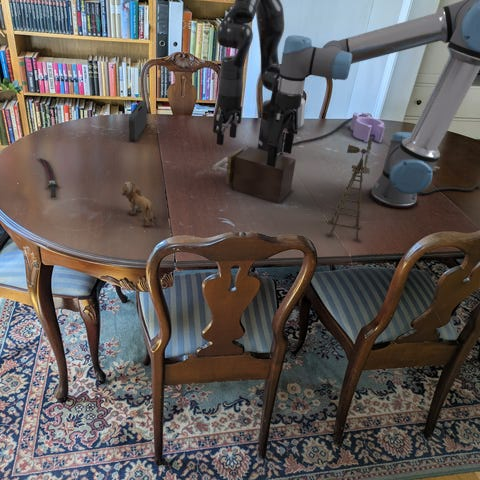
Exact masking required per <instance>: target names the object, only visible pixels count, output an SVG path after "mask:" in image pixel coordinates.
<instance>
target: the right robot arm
mask: <svg viewBox="0 0 480 480" xmlns="http://www.w3.org/2000/svg"><path fill="white" fill-rule="evenodd" d="M312 42H313V41H312V38H310V37H307V36H304V35H295V34H294V35H288V36H286V38H285V40H284V43H283V49H282V52H281V53H282V56H281V62H280V63H281V64H280V66H281V70H280V77H279V78H278V81H279V84H278V90H279V91H278V92H277V96H276V104H277V105H278V106H279V107H280V111H279V113H275V116H274V121H273V124H272V128H271V131H270V134H269V137H268V141H267V143H266V145H267V146H269V151H268V158H267V165H268V166H271V167H275V165H276V159H277V153H278V147H277V146H278V143H279V141H280V138H281V135H282V133H283V130H284V131H285V129H286V132H285V137H284V140H285V141H284V143H283V150H282V153H285V154H289V155H291V154H292V150H293V146H294V145H293V143H294V138H295V135H298V132H299V131H298V130H299V129H298V108H299V107H300V105H301V100H302V98H303V95H301V94H302V93H303V94H304V89H305V82H306V75H309V76H316V77H321V78H326V79H330V80H331V79H332V80H335V81H337V80H341V81H346V80H347V79H348V77H349V75H350V70H351V66H352V65H353V64H357V63H360V62H364V61H367V60H373V59H376V58H381V57H384V56H388V55H391V54H396V53H399V52H403V51H407V50H410V49H414V48H418V47H422V46H426V45H429V44H433V43H437V42H441V43H444V44H447V46H446V48H447V50H448V54H449V55H448V58H447V59H446V62H445V63H444V65H443V67H442V70H441V72H440V74H439V76H438V78H437V80H436V83H435V84H434V87H433V88H432V90H431V92H430V95H429V97H428V99H427V101H426V103H425V105H424V107H423V109H422V111H421V113H420V115H419V117H418V119H417V121H416V124H415V125H414V128H413V130H412V131H411V132H408V131H396V132H395V133H393V135H392V136H391V140H390V144H389V147H388V151H387V155H386V158H385V161H384V165H383V168H382V173H381V175H380V176H379V177H378V179H377V181H376V182H375V183H374V185H373V186H372V188H371V191H370V196H371V198H372V199H373V200H374V201H376V202H377V203H379V204H380V205H383V206H386V207H389V208H394V209H398V210H399V209H400V210H403V209H404V210H405V209H410V208H413V207H415V205H416V203H417V200H418V194H420V195H429V194H432V193H434V192H438V191H439V192H440V191H448V190H449V191H450V190H451V191H457V192H458V191H459V192H472V191H474V190H475V189H477V190H478V189H480V187H479V185H478V184H475V185H473V186H471V187H470V188H468V189H470V190H464V189H465V188H464V187H463V188H462V187H454V186H442V187H435V188H432V189H430V190H429V189H428V190H426V189H427V188H428V187H429V186H430V185H431V183H432V180H433V176H434V173H433V172H432V170H433V168H434V166H436V164H437V162H438V161H439V159H440V157H441V153H440V151H439V147H440V146H441V143H442V141H444V140H443V139H444V138H445V137H446V134H447V132H448V130H449V129H450V126H451V125H452V124H453V123H452V122H453V121H454V119H455V117H456V115H457V113H458V111H459V109H460V108H461V106H462V104H463V102H464V100H465V98H466V96H467V94H468V93H469V91H470V88H471V87H472V84H473V83H474V81H475V79H476V78H477V75H478V74H479V71H480V0H460V1H457V2H454V3H451V4H448V5H445V6H441V7H440V8H439V10H438V11H437V12H435V13H434V12H433V13H431V14H427V15H424V16H421V17H417V18H413V19H410V20H406V21H402V22H399V23H396V24H392V25H388V26H385V27H381V28H377V29H374V30H371V31H367V32H363V33H360V34H357V35H353V36H349V37H346V38H342V39H338V40H337V39H336V40H334V39H333V40H330V41H327V42H326V43H325V44H324V45H323V46H322V47H316V46H313V45H312ZM272 142H273V143H272ZM434 169H435V168H434ZM424 190H426V191H424Z"/></svg>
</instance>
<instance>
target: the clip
mask: <svg viewBox="0 0 480 480" xmlns="http://www.w3.org/2000/svg"><path fill="white" fill-rule="evenodd" d="M369 114H370V113H368V114H366V112H361V115H362V116H361V117H360V116H358V115H359V113H358V112H353V114H352V117H351V118H352V120H351V122H350V126H349V129H350V130H351V131H353V132H352V136H353V137H354V138H356V139H358V140H361V141H363V142H364V143H368V142H369V138H370V136H371V135H372V136H374V139H373V140H374V142H376V143H382V140H383V137H384V132H385V129H386V127H385V122H384V121H383V120H380V119H377V118H374V117H373V116H372V117H371V115H372V114H371V115H369Z"/></svg>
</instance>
